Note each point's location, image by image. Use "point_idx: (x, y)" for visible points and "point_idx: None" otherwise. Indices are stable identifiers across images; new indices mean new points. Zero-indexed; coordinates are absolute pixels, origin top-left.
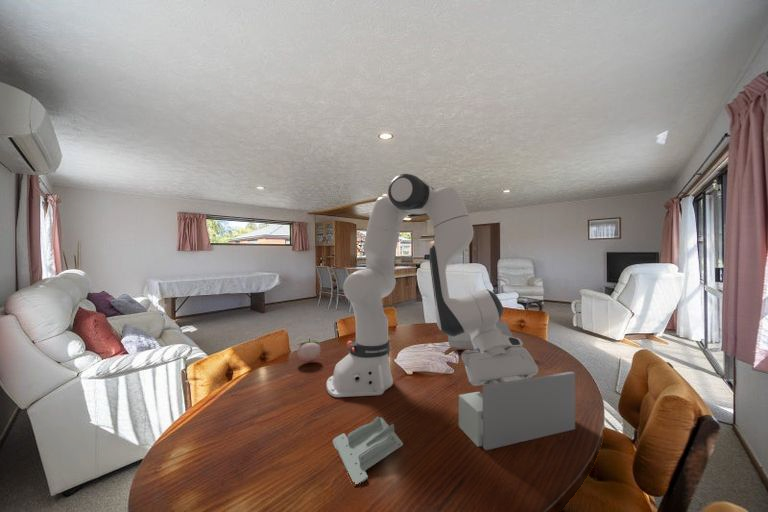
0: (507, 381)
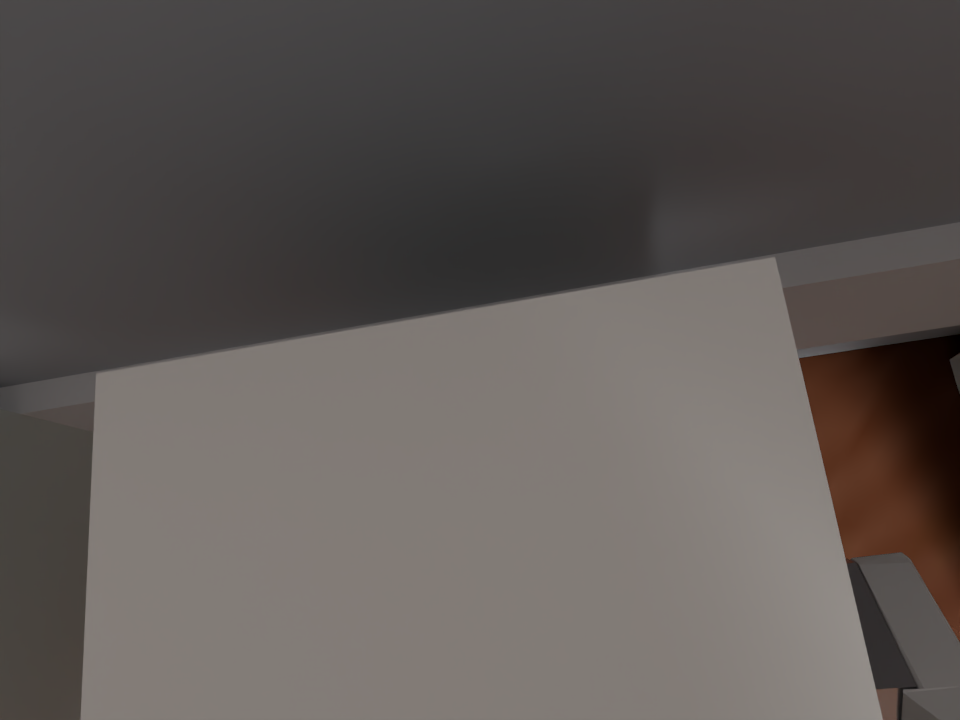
0: (846, 675)
